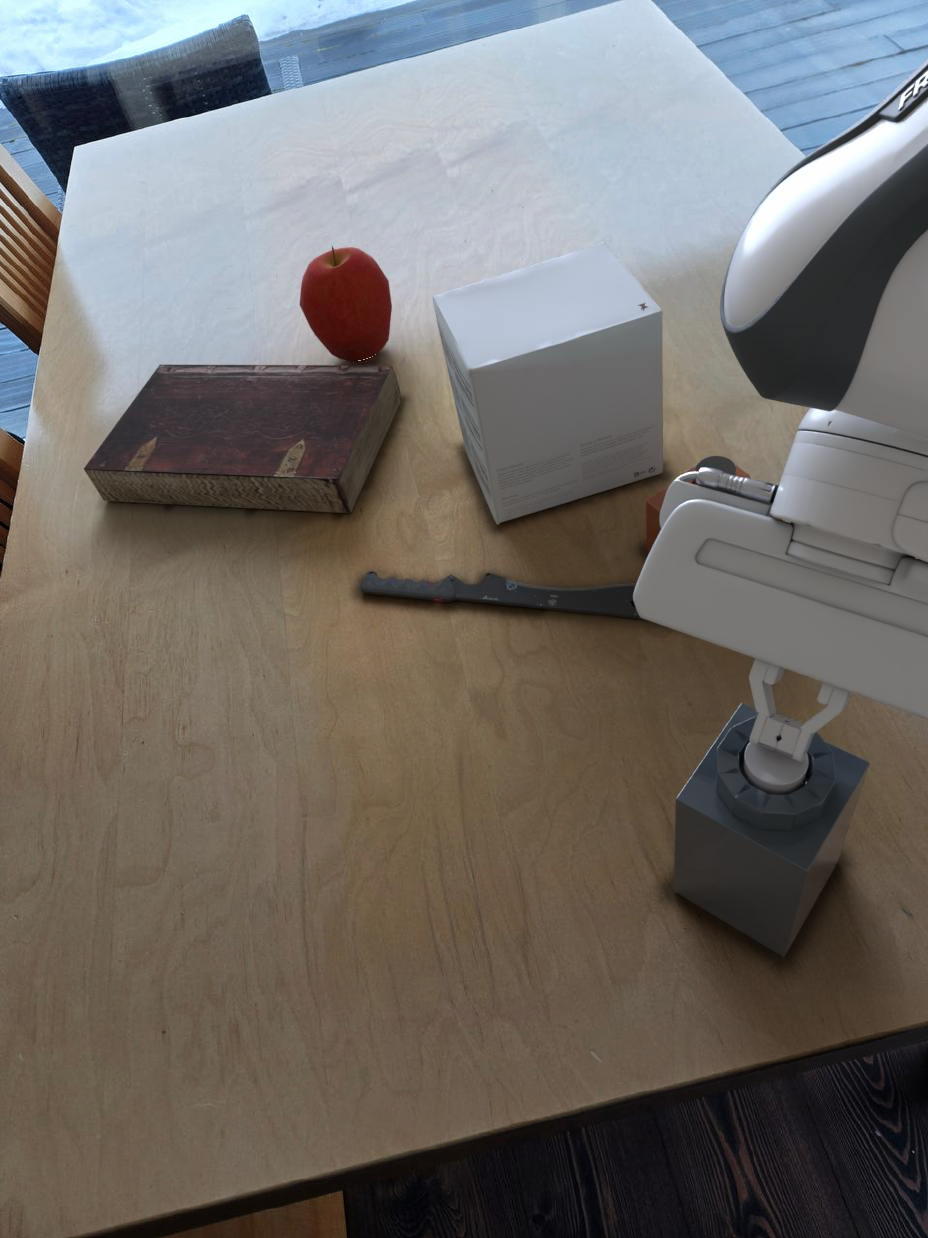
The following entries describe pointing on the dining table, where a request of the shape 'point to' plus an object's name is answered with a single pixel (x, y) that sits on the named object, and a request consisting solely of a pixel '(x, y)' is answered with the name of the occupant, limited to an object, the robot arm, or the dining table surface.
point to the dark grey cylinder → (717, 466)
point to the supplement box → (555, 380)
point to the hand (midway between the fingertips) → (776, 750)
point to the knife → (510, 594)
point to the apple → (347, 303)
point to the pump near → (773, 770)
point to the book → (249, 436)
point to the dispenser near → (762, 835)
